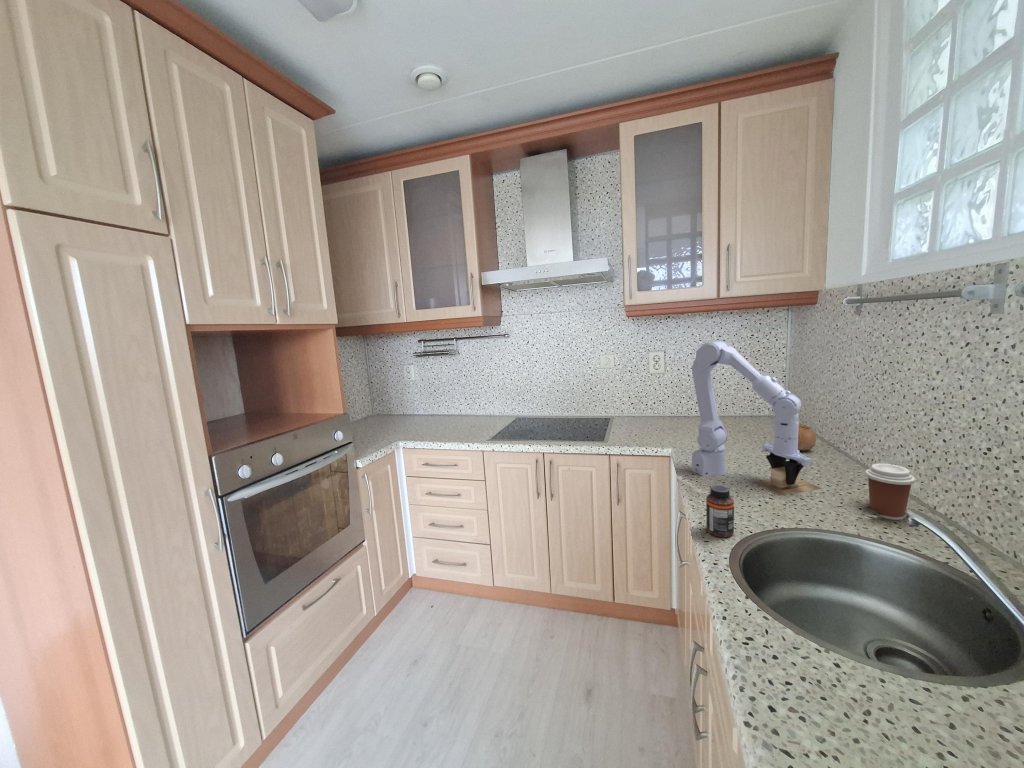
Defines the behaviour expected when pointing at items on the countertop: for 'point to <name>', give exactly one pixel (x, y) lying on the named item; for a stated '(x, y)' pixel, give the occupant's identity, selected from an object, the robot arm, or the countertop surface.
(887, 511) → the coffee cup
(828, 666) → the countertop surface
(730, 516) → the supplement bottle
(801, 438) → the onion
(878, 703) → the countertop surface
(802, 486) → the board
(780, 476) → the block
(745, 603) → the countertop surface
